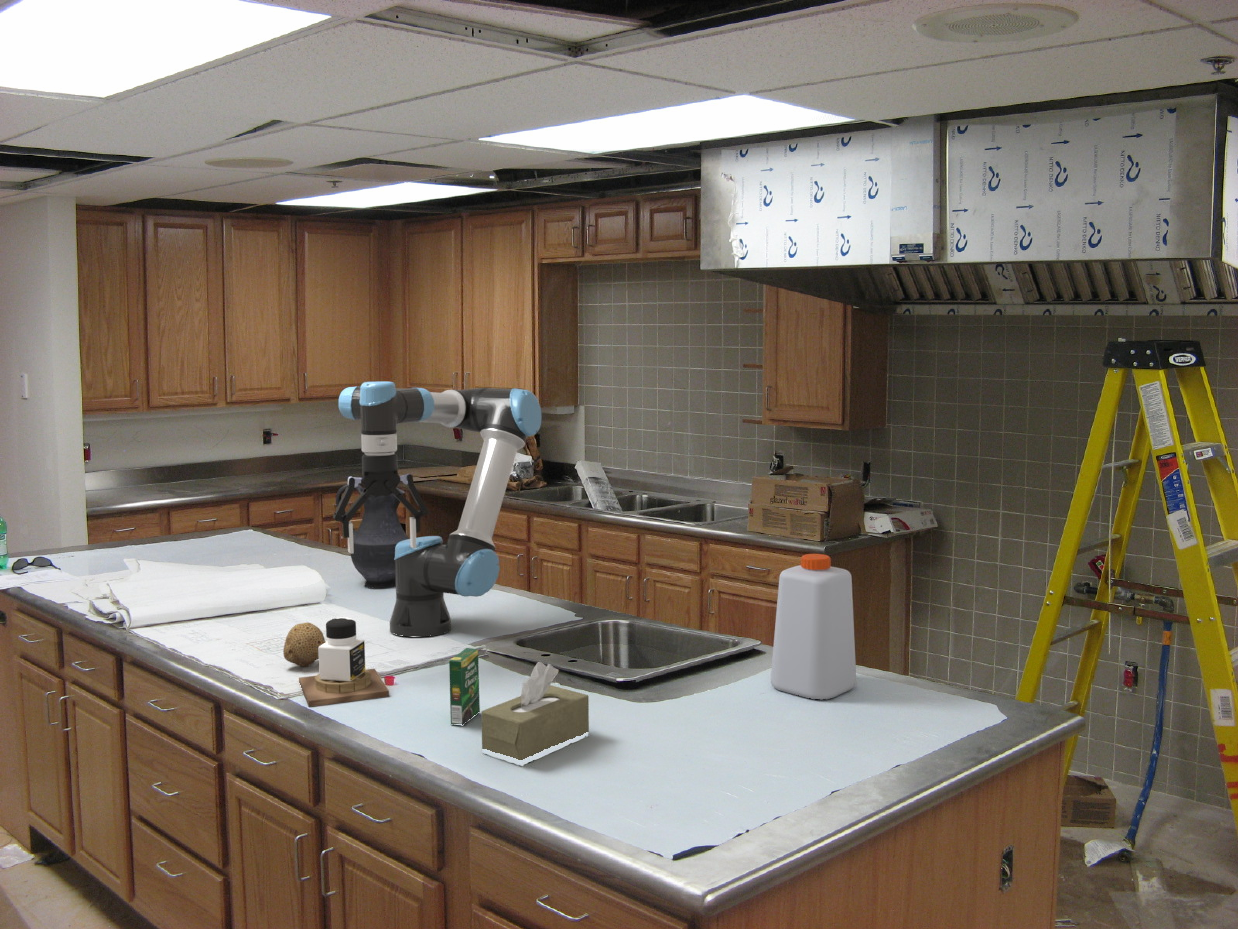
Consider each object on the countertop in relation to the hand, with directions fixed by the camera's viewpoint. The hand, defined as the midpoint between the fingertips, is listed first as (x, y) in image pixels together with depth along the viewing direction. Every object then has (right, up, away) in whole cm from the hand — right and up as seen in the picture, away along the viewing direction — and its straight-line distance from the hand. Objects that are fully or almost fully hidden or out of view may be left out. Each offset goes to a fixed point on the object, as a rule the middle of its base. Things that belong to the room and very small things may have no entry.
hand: (382, 550), depth 242 cm
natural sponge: (-18, -27, +5) cm, 32 cm away
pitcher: (-20, -17, +81) cm, 85 cm away
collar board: (-6, -28, -11) cm, 31 cm away
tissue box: (+37, -33, -41) cm, 64 cm away
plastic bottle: (+92, -28, -10) cm, 97 cm away
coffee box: (+22, -31, -28) cm, 47 cm away
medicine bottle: (-6, -26, -11) cm, 29 cm away
